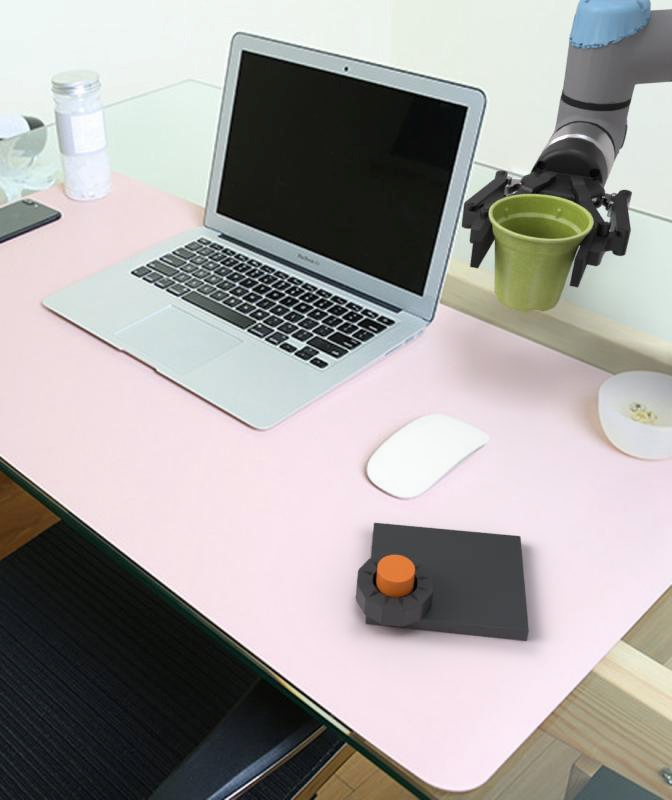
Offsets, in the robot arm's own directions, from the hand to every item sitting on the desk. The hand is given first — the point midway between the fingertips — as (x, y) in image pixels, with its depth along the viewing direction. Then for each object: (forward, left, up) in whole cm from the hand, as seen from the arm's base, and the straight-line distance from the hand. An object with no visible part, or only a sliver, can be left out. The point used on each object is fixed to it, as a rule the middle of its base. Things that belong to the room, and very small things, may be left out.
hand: (525, 263), depth 85 cm
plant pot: (-1, -5, -6) cm, 8 cm away
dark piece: (+6, +25, -16) cm, 30 cm away
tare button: (+10, +28, -13) cm, 32 cm away
